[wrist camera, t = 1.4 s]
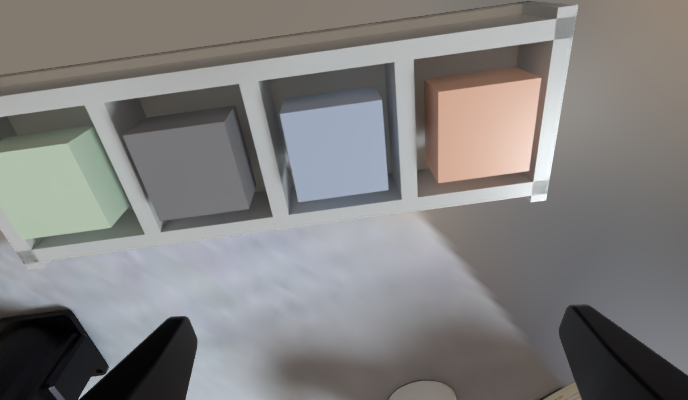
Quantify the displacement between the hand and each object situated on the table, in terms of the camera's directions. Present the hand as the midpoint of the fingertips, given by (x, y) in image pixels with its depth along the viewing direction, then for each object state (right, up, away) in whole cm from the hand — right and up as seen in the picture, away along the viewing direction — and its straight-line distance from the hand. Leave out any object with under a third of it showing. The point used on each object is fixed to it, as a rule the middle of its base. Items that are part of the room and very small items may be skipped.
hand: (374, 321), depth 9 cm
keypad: (-5, +7, +12) cm, 14 cm away
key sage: (-14, +4, +10) cm, 18 cm away
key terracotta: (+5, +7, +9) cm, 13 cm away
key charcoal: (-8, +5, +10) cm, 13 cm away
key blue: (-1, +6, +9) cm, 11 cm away
